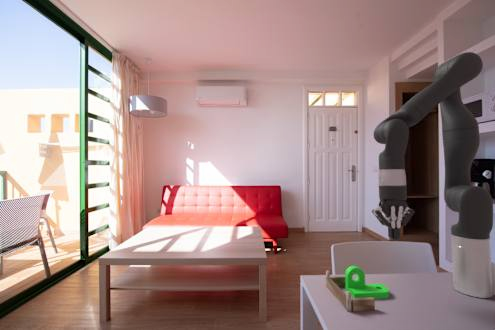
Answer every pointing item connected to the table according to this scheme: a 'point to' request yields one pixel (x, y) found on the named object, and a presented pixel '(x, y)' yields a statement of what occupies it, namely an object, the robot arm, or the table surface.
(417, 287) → the table surface
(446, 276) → the table surface
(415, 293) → the table surface
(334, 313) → the table surface
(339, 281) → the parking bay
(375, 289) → the mechanical part
